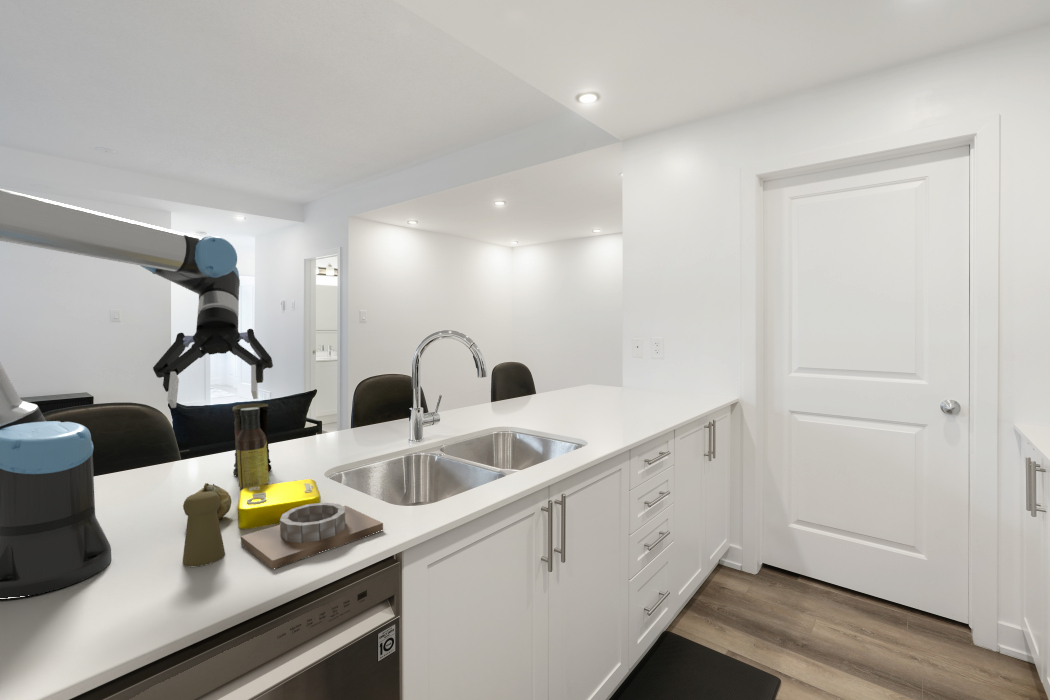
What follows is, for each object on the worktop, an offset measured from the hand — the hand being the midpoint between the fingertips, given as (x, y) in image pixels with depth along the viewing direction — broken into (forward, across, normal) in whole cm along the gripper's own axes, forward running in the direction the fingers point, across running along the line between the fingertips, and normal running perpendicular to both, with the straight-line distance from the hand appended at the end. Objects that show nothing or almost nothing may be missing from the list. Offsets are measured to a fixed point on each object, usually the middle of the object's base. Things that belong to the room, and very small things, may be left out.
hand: (214, 399), depth 95 cm
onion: (+15, +4, -20) cm, 26 cm away
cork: (+28, +2, -6) cm, 29 cm away
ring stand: (+28, -15, -8) cm, 33 cm away
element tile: (+16, -9, -21) cm, 28 cm away
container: (-7, 0, -46) cm, 47 cm away
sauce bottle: (+6, -3, -32) cm, 32 cm away
